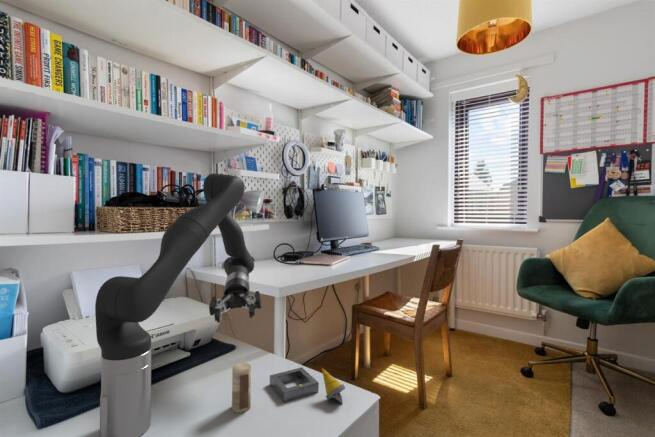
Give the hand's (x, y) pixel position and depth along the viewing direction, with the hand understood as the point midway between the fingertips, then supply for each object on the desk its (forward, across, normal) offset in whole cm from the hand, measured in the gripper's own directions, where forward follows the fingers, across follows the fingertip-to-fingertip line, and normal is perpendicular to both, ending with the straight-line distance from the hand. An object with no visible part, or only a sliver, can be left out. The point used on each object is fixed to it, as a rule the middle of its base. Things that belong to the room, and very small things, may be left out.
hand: (234, 317), depth 89 cm
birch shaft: (+15, +1, +16) cm, 22 cm away
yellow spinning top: (+16, +23, +18) cm, 33 cm away
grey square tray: (+9, +14, +19) cm, 25 cm away
